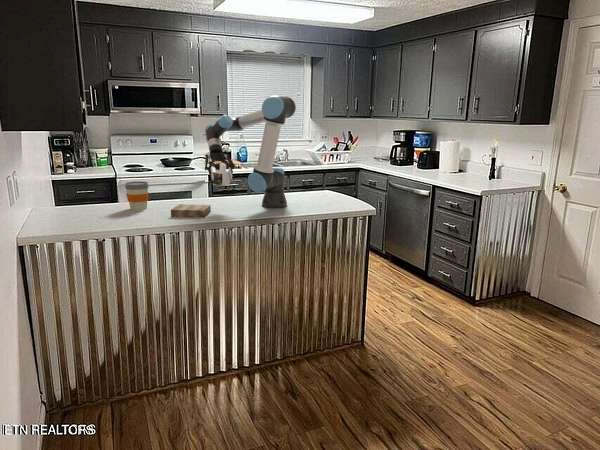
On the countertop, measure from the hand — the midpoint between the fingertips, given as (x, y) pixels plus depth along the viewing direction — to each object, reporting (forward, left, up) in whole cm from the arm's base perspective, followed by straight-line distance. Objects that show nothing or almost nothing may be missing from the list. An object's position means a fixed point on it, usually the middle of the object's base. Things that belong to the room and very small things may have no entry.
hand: (222, 178), depth 247 cm
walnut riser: (+15, +11, -19) cm, 27 cm away
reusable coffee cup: (+49, 0, -19) cm, 53 cm away
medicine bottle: (+1, -3, -4) cm, 5 cm away
